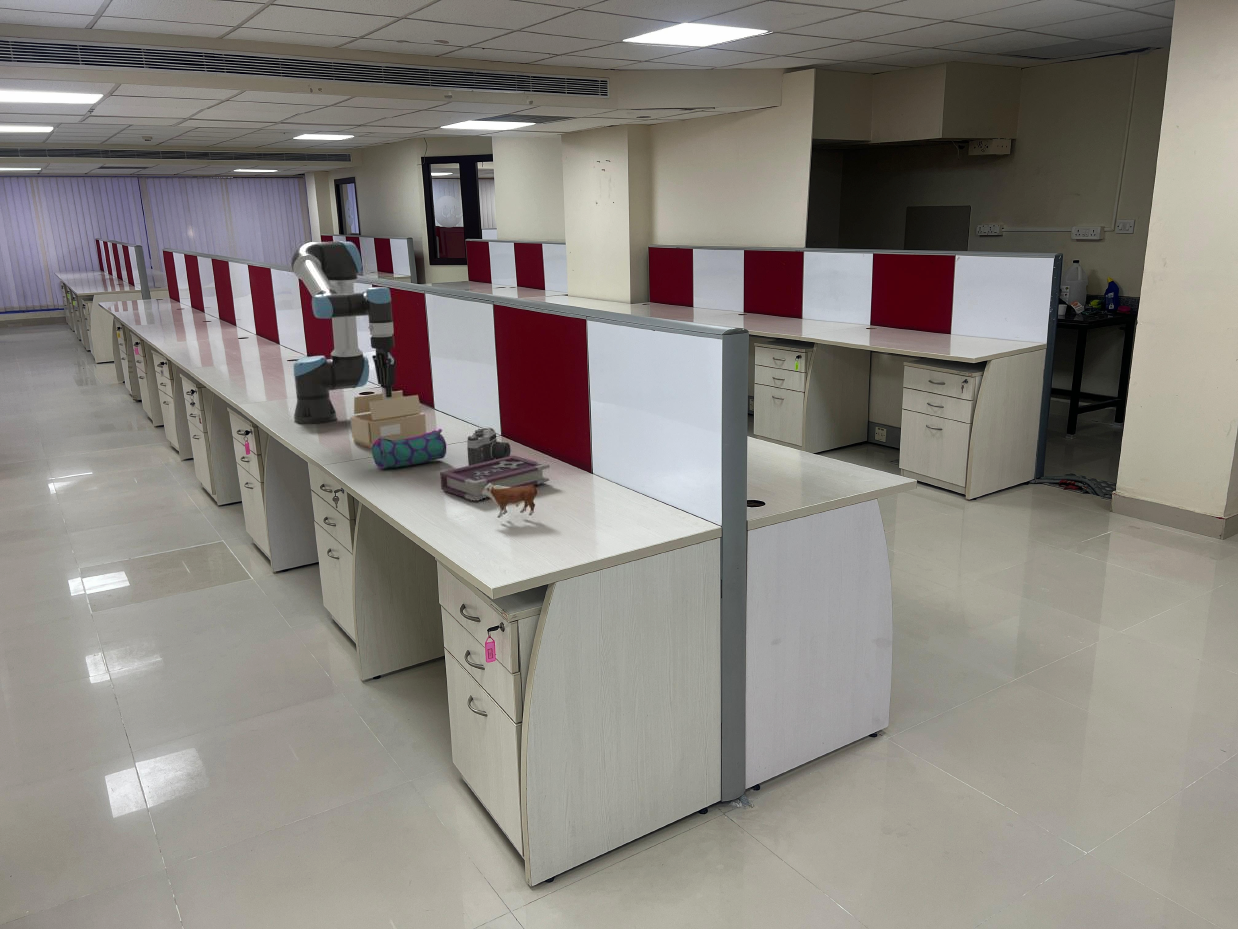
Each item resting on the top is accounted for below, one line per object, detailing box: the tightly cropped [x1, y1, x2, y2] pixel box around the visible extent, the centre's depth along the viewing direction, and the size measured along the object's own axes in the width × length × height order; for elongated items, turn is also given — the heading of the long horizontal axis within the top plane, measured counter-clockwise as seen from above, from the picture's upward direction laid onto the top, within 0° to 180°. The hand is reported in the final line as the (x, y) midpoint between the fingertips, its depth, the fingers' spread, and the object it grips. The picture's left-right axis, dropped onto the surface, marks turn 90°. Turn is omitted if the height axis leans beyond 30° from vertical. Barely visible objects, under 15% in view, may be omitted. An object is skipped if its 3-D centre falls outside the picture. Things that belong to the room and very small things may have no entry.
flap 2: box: [369, 394, 422, 420], centre depth 291 cm, size 1×17×6 cm, turn 130°
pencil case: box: [371, 428, 448, 470], centre depth 267 cm, size 21×9×10 cm, turn 125°
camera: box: [466, 427, 512, 466], centre depth 267 cm, size 16×10×10 cm, turn 166°
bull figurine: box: [482, 483, 538, 519], centre depth 217 cm, size 4×13×8 cm, turn 95°
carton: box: [350, 412, 427, 450], centre depth 297 cm, size 15×21×9 cm
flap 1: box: [353, 390, 403, 415], centre depth 300 cm, size 1×17×6 cm, turn 129°
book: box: [439, 455, 550, 501], centre depth 245 cm, size 25×16×5 cm, turn 134°
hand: (388, 406), depth 295 cm, fingers closed
